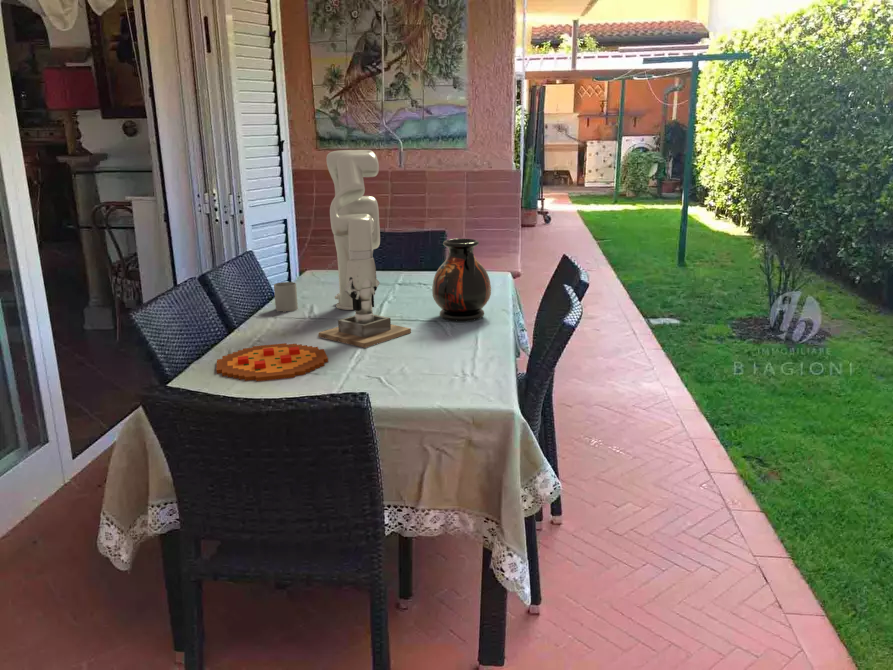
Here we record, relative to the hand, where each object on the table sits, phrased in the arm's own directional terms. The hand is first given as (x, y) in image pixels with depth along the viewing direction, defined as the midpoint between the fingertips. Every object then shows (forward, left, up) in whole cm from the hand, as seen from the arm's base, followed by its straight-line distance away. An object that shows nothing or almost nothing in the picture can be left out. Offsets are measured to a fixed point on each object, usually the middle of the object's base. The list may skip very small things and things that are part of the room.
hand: (363, 307), depth 244 cm
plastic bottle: (0, 0, -7) cm, 7 cm away
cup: (-51, +8, -9) cm, 52 cm away
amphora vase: (+12, +38, -9) cm, 41 cm away
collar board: (0, 0, -9) cm, 9 cm away
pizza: (-1, -38, -10) cm, 39 cm away
